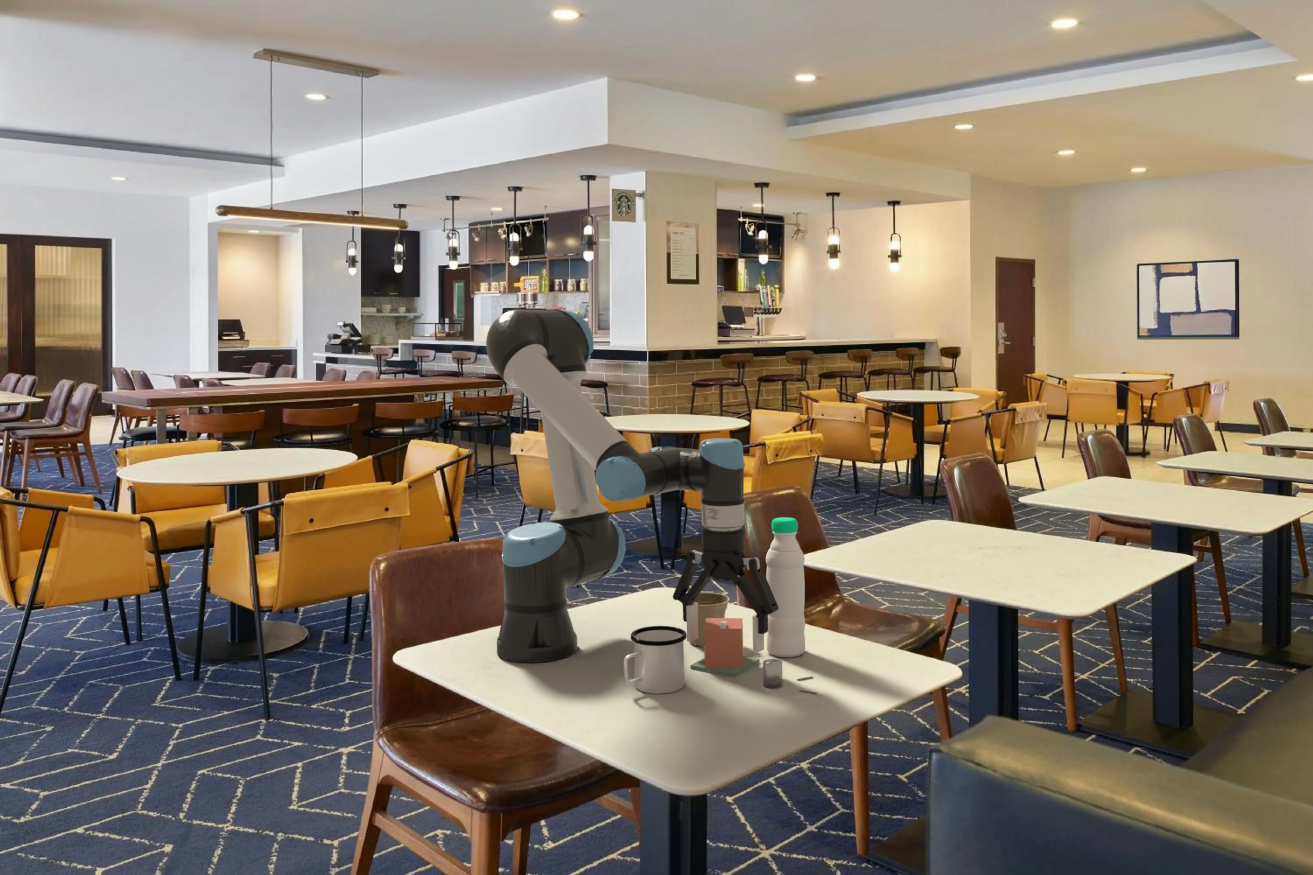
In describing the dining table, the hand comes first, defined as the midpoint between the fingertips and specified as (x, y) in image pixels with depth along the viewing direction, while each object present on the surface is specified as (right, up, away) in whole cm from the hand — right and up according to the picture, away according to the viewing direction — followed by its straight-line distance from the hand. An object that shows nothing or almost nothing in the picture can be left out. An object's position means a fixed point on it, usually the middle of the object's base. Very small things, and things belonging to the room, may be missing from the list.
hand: (724, 645), depth 182 cm
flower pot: (-3, -3, +14) cm, 15 cm away
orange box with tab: (0, -3, +1) cm, 3 cm away
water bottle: (+12, -3, +7) cm, 14 cm away
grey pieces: (+12, -4, -10) cm, 16 cm away
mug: (-13, -5, -10) cm, 17 cm away
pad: (0, -4, 0) cm, 4 cm away
